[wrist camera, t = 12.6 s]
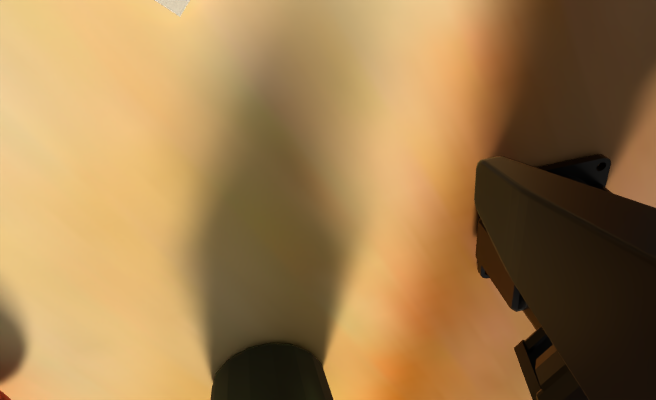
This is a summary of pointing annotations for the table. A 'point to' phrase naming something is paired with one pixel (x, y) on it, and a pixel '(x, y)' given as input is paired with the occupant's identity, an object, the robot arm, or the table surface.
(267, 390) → the potion bottle
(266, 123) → the table surface
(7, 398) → the onion
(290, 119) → the table surface
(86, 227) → the table surface
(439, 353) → the table surface
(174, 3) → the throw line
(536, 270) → the robot arm
